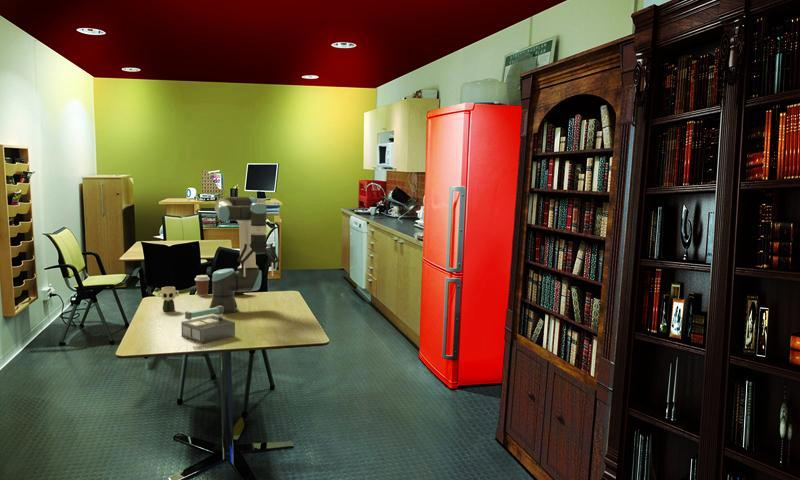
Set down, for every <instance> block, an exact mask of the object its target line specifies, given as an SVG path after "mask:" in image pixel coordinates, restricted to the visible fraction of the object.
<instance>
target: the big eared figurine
mask: <svg viewBox="0 0 800 480" xmlns="http://www.w3.org/2000/svg"><path fill="white" fill-rule="evenodd" d="M179 296H180V291H179V290H176V287H175V286H164V287H161V290H159V291H157V297H158V298H161V299H162V300H163V301H162V302H163V305H162V310H163V311H165V312H167V311H169V312H172V311H174V310H175V309H176V307H175V306H176V305H175V302H174V300H175V298H176V297H179Z"/></svg>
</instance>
